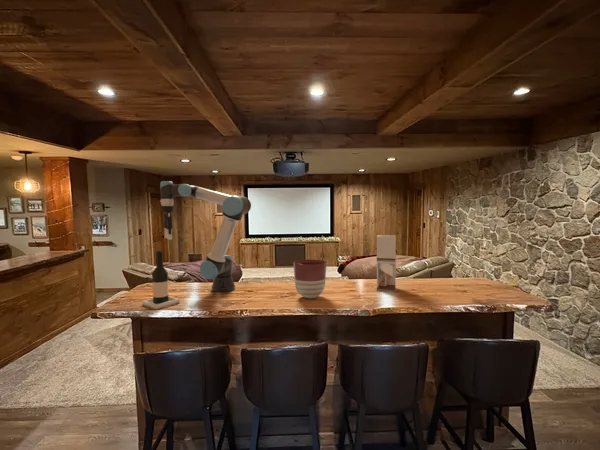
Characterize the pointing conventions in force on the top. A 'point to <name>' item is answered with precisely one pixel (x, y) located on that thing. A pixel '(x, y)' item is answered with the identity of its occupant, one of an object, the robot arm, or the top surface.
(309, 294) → the planter
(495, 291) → the top surface
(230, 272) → the robot arm
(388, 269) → the beige dispenser tower
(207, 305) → the top surface
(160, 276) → the wine bottle
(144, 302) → the grey dish
